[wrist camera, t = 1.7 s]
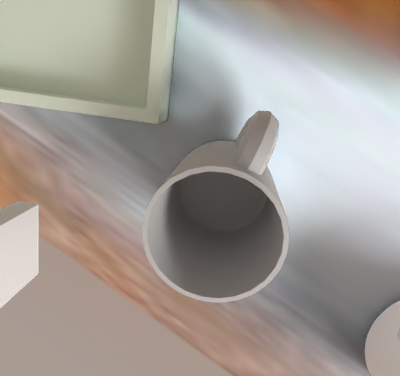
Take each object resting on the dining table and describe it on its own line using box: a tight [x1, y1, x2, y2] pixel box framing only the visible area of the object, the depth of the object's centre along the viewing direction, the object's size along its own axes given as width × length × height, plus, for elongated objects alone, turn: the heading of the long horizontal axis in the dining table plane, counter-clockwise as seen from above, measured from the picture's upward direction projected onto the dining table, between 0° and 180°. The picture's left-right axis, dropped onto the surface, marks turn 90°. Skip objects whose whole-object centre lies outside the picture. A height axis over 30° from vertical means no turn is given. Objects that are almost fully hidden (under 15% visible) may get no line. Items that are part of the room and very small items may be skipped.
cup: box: [142, 111, 290, 303], centre depth 21 cm, size 7×10×9 cm
